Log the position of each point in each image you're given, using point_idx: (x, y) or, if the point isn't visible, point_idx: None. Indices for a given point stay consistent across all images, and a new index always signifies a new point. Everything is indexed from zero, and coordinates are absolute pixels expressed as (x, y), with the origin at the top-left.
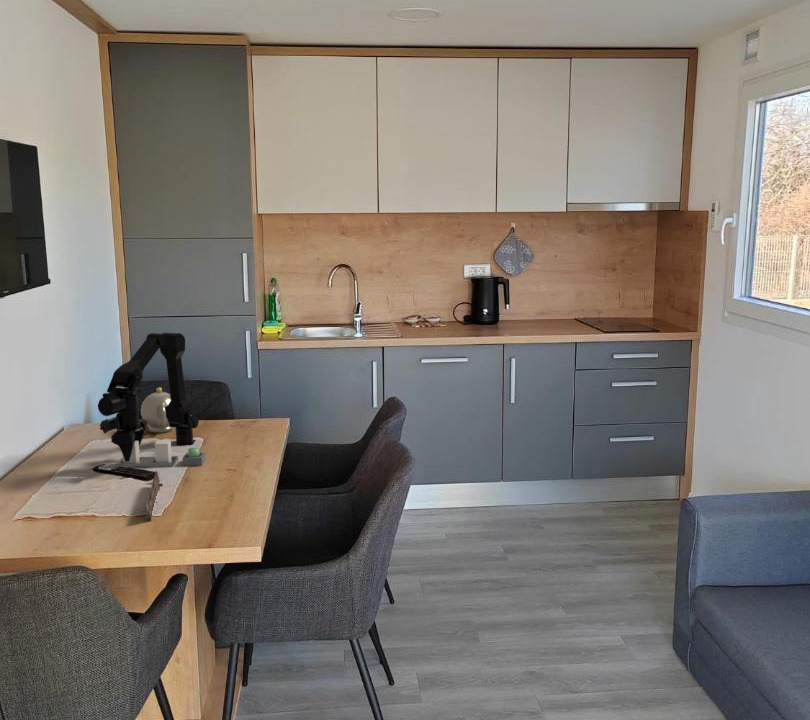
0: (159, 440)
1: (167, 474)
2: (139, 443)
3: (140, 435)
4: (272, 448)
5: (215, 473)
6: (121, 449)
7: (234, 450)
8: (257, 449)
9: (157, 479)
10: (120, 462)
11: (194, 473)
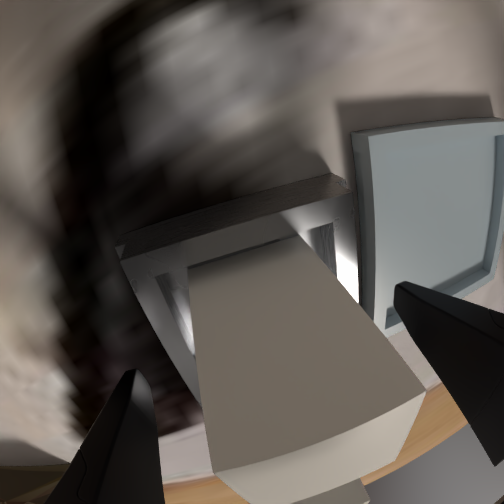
0: (368, 502)
1: (180, 456)
2: (440, 378)
3: (486, 429)
4: (421, 453)
5: (234, 500)
6: (67, 481)
7: (432, 425)
8: (423, 444)
9: (48, 491)
10: (176, 268)
11: (220, 485)
